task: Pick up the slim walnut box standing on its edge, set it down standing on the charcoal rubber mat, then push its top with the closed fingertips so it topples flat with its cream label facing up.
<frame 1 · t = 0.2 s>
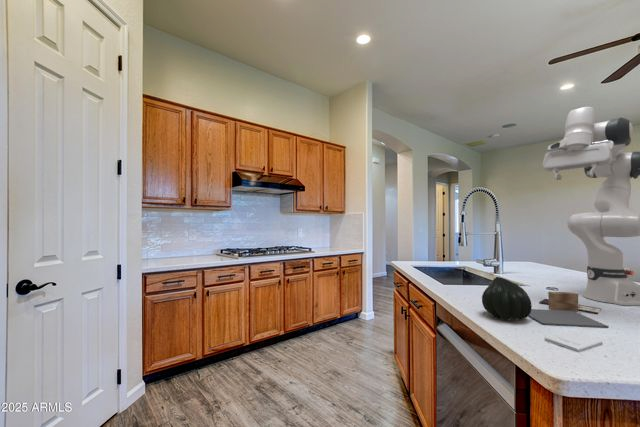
hand: (573, 178, 109), 51 cm above the counter, tool tilted 20°, fingers open, 8 cm apart
external hard drive: (573, 345, 83), on the counter
chocolate bar: (569, 308, 118), on the counter
mat: (558, 318, 104), on the counter
squash: (505, 318, 105), on the counter
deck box: (563, 310, 113), on the counter
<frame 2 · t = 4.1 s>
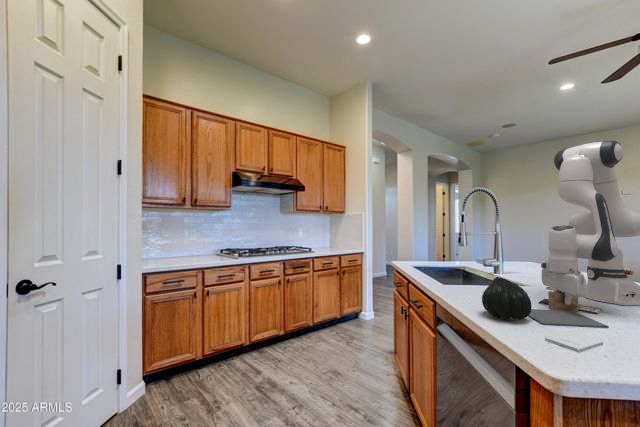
hand: (563, 302, 113), 3 cm above the counter, tool pointing down, fingers closed on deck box, 3 cm apart
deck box: (563, 310, 113), on the counter, touching gripper
everything else where it was.
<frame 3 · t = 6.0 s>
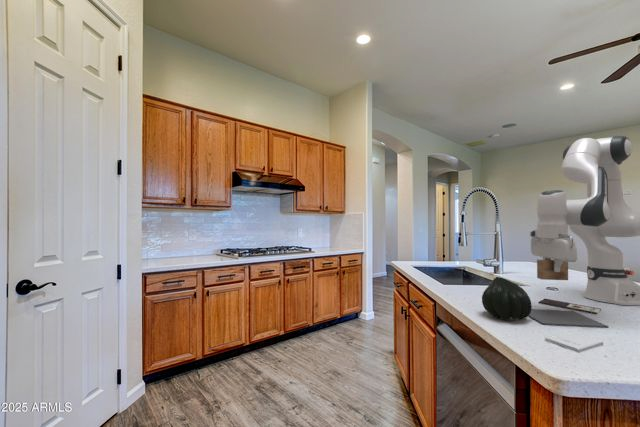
hand: (552, 270, 107), 17 cm above the counter, tool pointing down, fingers closed on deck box, 3 cm apart
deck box: (552, 279, 107), point 13 cm above the counter, touching gripper
everything else where it was.
when the fingers open (5 cm above the counter, at t = 7.9 s): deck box stays where it is, resting on mat.
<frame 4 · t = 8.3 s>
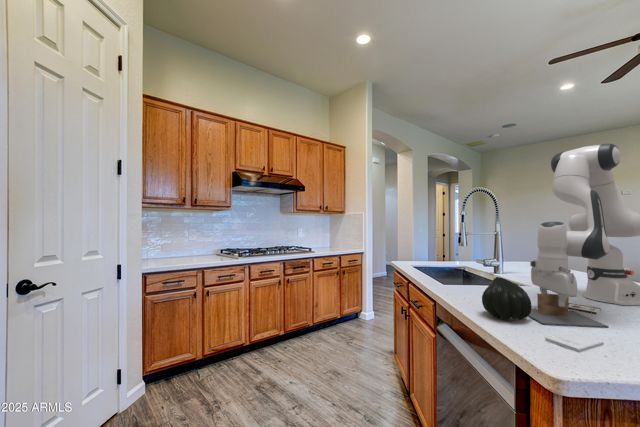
hand: (552, 302, 107), 5 cm above the counter, tool pointing down, fingers open, 7 cm apart
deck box: (552, 313, 107), point 1 cm above the counter, touching mat
everything else where it was.
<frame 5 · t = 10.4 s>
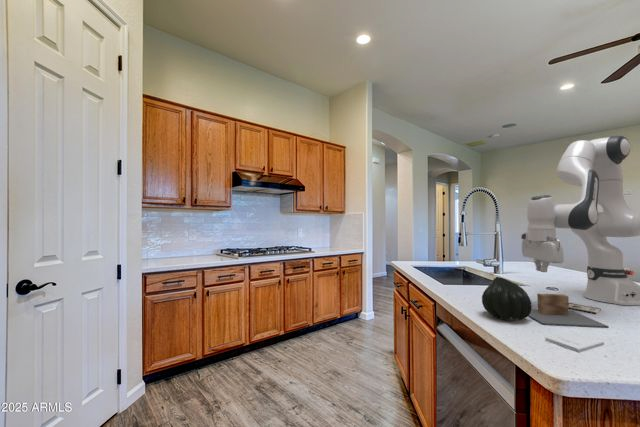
hand: (541, 271, 114), 15 cm above the counter, tool pointing down, fingers closed
nothing on the counter moved.
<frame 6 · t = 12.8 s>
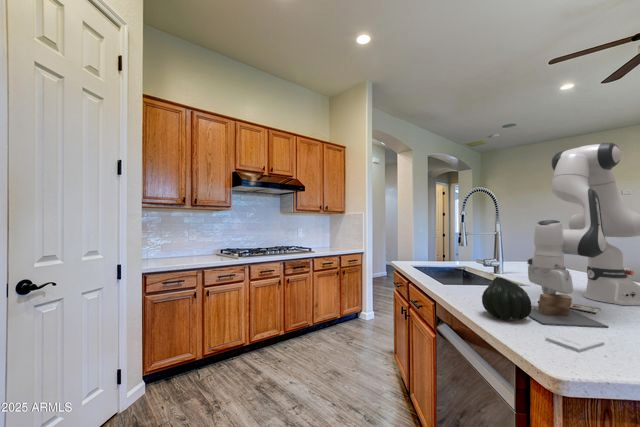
hand: (548, 299, 109), 5 cm above the counter, tool pointing down, fingers closed
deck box: (552, 313, 107), point 1 cm above the counter, tilted 14°, touching mat
everything else where it was.
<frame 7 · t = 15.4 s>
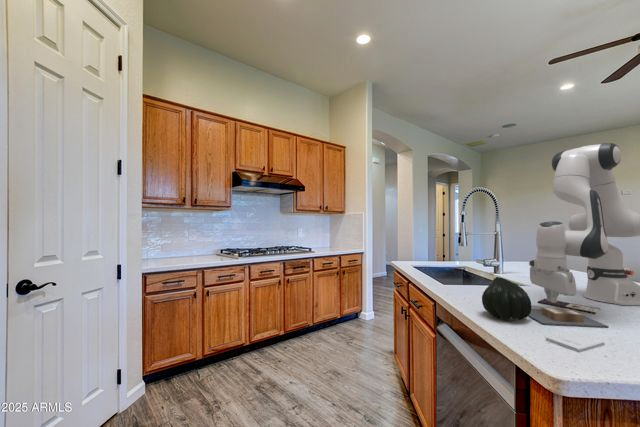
hand: (551, 301, 108), 5 cm above the counter, tool pointing down, fingers closed
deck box: (555, 311, 106), point 2 cm above the counter, tilted 90°, touching mat
everything else where it was.
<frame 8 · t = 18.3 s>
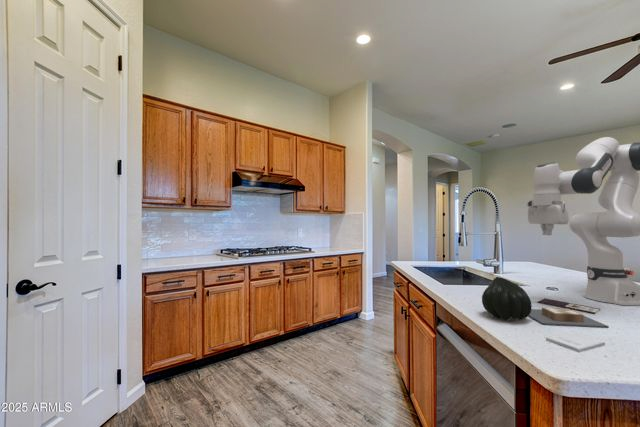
hand: (547, 235, 120), 29 cm above the counter, tool pointing down, fingers closed
nothing on the counter moved.
at the end: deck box tilted 90°; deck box inside the target area (1.7 cm from its centre), point 1.8 cm above the counter; the gripper is holding nothing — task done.
